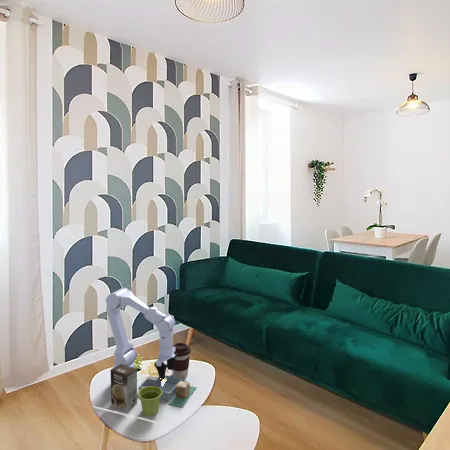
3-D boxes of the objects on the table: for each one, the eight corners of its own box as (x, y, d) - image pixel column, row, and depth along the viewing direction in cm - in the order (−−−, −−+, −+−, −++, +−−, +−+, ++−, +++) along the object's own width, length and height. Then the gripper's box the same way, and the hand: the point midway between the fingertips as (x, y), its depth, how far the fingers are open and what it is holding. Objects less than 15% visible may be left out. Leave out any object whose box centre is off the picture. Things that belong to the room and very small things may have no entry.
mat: (168, 405, 156) (168, 403, 156) (183, 386, 170) (183, 384, 170) (182, 408, 154) (182, 406, 154) (196, 388, 168) (196, 387, 168)
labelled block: (175, 396, 160) (175, 385, 160) (180, 391, 165) (180, 380, 164) (185, 399, 159) (185, 387, 158) (189, 393, 163) (189, 382, 163)
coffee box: (110, 406, 155) (109, 369, 153) (121, 397, 160) (120, 362, 158) (127, 412, 151) (126, 375, 148) (138, 404, 156) (137, 368, 154)
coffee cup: (188, 381, 174) (188, 351, 172) (167, 380, 175) (167, 350, 172) (192, 370, 184) (192, 341, 182) (172, 369, 184) (172, 340, 182)
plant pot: (151, 402, 158) (151, 383, 157) (167, 411, 152) (166, 391, 151) (133, 413, 151) (133, 393, 149) (148, 423, 145) (148, 402, 143)
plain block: (146, 389, 166) (146, 378, 166) (151, 383, 171) (151, 373, 170) (155, 390, 165) (155, 380, 164) (160, 385, 169) (160, 375, 169)
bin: (138, 393, 163) (138, 386, 163) (152, 379, 175) (152, 372, 174) (170, 401, 159) (170, 393, 158) (182, 385, 170) (182, 378, 170)
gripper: (166, 353, 153) (166, 384, 155) (181, 339, 167) (181, 367, 169) (151, 350, 156) (151, 381, 158) (167, 336, 169) (167, 364, 171)
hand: (166, 373), depth 163 cm, fingers open, 7 cm apart
